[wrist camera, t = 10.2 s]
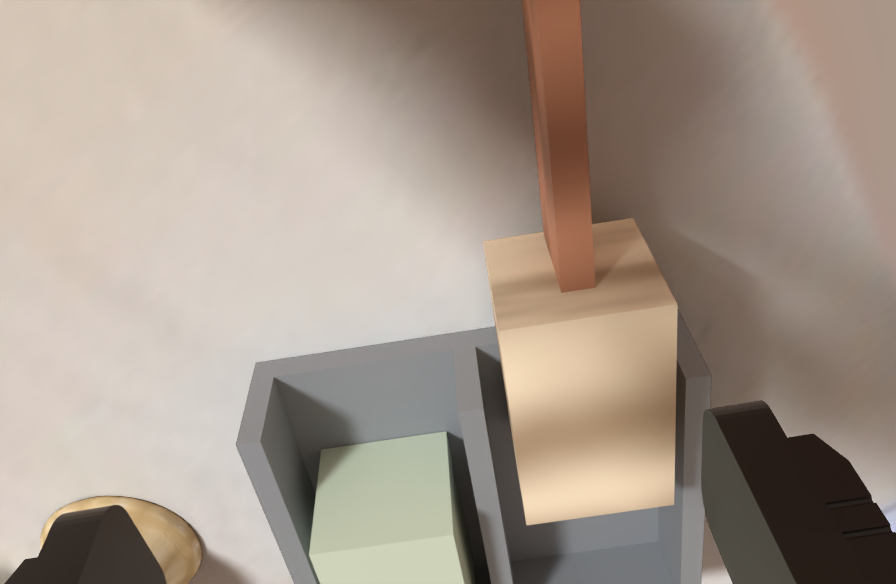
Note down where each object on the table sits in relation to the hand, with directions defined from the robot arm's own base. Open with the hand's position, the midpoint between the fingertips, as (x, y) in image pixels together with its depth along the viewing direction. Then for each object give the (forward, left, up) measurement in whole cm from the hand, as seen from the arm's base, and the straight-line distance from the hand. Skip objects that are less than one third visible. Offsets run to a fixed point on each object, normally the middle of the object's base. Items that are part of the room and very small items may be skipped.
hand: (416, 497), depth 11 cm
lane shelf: (+21, 0, -21) cm, 29 cm away
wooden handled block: (+7, +5, -20) cm, 21 cm away
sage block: (+23, -4, -20) cm, 30 cm away
